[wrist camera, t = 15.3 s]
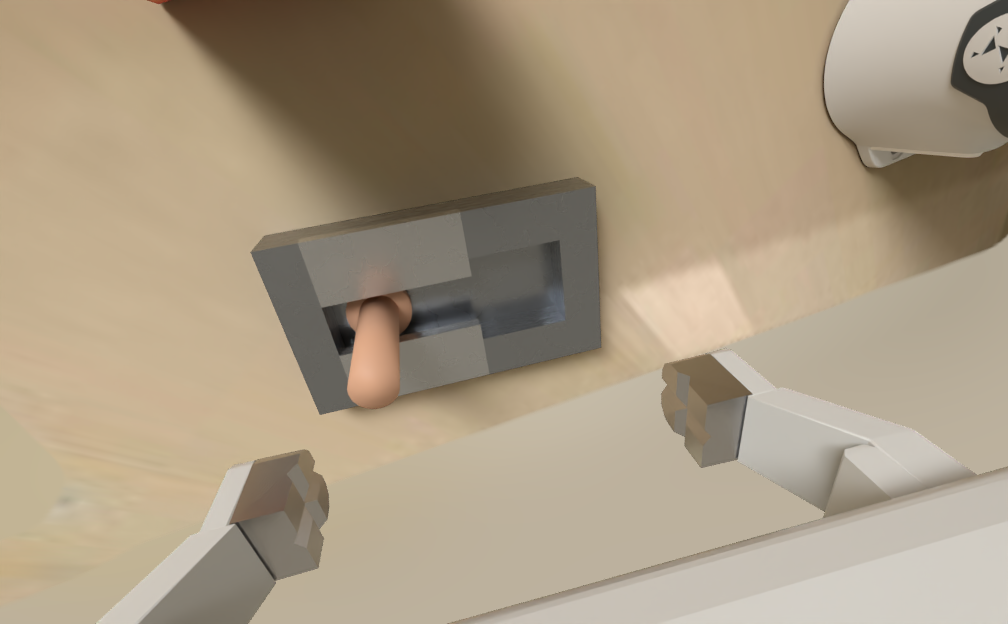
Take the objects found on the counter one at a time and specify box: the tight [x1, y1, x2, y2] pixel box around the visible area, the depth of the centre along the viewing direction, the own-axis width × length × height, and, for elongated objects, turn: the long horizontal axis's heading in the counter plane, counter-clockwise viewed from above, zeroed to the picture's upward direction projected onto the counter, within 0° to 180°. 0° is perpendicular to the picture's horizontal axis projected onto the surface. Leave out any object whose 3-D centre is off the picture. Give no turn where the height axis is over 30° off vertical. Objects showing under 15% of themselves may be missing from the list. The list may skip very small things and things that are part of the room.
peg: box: [346, 290, 412, 409], centre depth 31 cm, size 5×5×11 cm
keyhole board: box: [251, 177, 601, 415], centre depth 36 cm, size 24×14×4 cm, turn 98°
